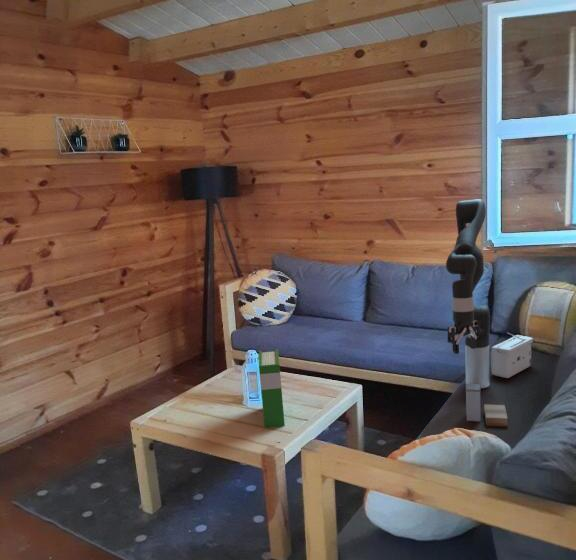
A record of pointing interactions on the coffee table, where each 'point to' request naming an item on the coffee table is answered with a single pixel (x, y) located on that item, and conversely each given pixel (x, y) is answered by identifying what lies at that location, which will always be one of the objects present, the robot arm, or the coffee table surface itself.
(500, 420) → the stand
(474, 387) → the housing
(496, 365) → the stereo radio cassette player
